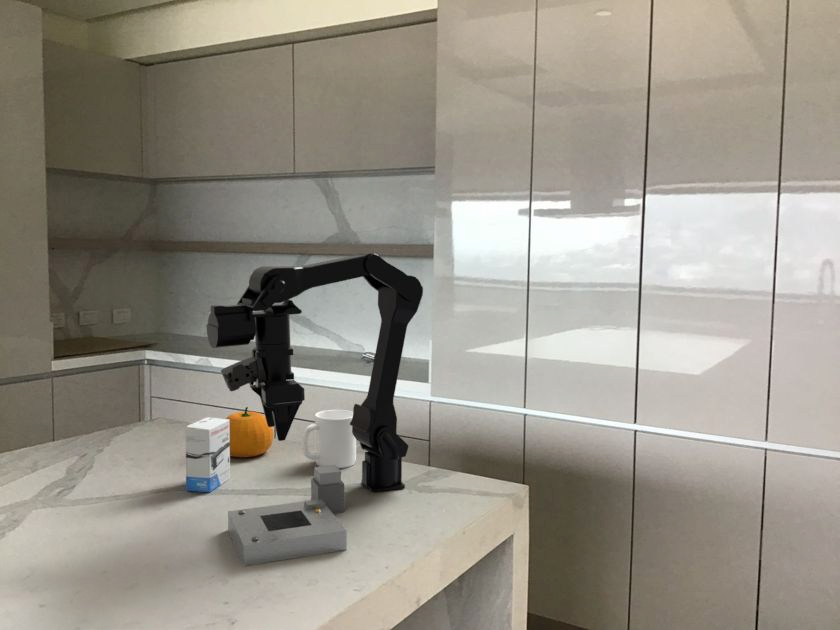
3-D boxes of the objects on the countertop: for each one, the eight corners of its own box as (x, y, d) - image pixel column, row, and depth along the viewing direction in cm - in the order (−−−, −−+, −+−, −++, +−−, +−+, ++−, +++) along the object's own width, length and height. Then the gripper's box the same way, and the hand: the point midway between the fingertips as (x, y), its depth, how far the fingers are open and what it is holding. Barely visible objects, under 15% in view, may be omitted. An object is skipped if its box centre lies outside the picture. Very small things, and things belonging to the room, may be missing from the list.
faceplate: (320, 516, 123) (320, 494, 123) (346, 549, 110) (346, 524, 110) (228, 529, 117) (227, 506, 117) (243, 566, 105) (243, 539, 104)
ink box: (210, 493, 134) (209, 429, 132) (184, 491, 135) (183, 427, 133) (231, 478, 142) (230, 417, 141) (207, 476, 143) (206, 416, 142)
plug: (336, 503, 130) (336, 464, 129) (344, 512, 126) (344, 471, 125) (311, 506, 128) (311, 467, 127) (318, 515, 124) (318, 474, 123)
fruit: (248, 442, 167) (248, 398, 166) (285, 451, 160) (285, 406, 159) (205, 454, 157) (204, 408, 156) (243, 465, 151) (242, 416, 150)
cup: (364, 464, 152) (364, 415, 151) (313, 475, 144) (313, 424, 143) (340, 454, 158) (341, 407, 157) (291, 465, 151) (291, 416, 150)
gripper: (216, 337, 130) (220, 425, 132) (231, 354, 113) (235, 454, 115) (280, 333, 134) (283, 418, 136) (303, 349, 117) (306, 445, 119)
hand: (276, 433), depth 126 cm, fingers open, 9 cm apart
